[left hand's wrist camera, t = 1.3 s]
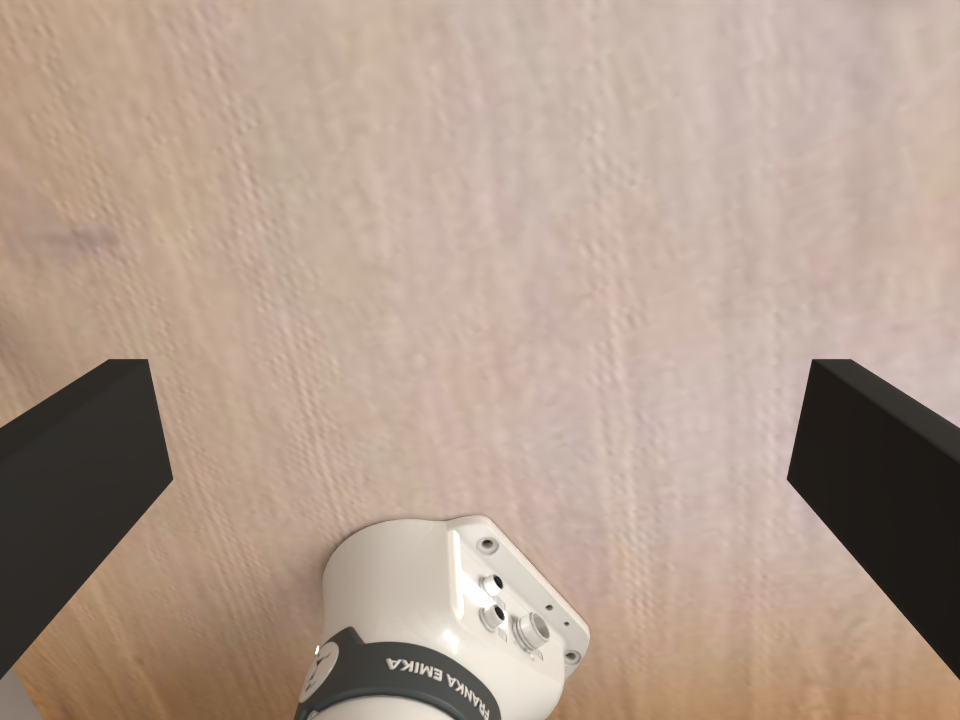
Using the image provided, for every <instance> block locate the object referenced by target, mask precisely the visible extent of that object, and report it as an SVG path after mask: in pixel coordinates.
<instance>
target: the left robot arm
mask: <svg viewBox="0 0 960 720" xmlns="http://www.w3.org/2000/svg"><path fill="white" fill-rule="evenodd" d="M172 480H173V476H172V471H171V466H170V462H169V457H168V452H167V448H166V443H165V438H164V433H163V429H162V424H161V419H160V415H159V410H158V405H157V401H156V396H155V391H154V386H153V382H152V377H151V372H150V368H149V363H148V359H109V360H107V361H105V362H104V363H102V364H101V365H99V366H98V367H96V368H94V369H93V370H91V371H90V372H88V373H86V374H85V375H83V376H82V377H80V378H79V379H77V380H75V381H74V382H72V383H71V384H69V385H68V386H66V387H64V388H63V389H61V390H60V391H58V392H57V393H55V394H53V395H52V396H50V397H49V398H47V399H45V400H44V401H42V402H41V403H39V404H38V405H36V406H34V407H33V408H31V409H30V410H28V411H27V412H25V413H23V414H22V415H20V416H19V417H17V418H16V419H14V420H12V421H11V422H9V423H8V424H6V425H4V426H3V427H1V428H0V680H1V678H2V677H3V676H4V675H5V674H6V673H7V671H8V670H9V669H10V668H11V667H12V666H13V665H14V663H15V662H16V661H17V660H18V659H19V658H20V656H21V655H22V654H23V653H24V652H25V651H26V649H27V648H28V647H29V646H30V645H31V644H32V643H33V641H34V640H35V639H36V638H37V637H38V636H39V634H40V633H41V632H42V631H43V630H44V629H45V627H46V626H47V625H48V624H49V623H50V622H51V621H52V619H53V618H54V617H55V616H56V615H57V614H58V612H59V611H60V610H61V609H62V608H63V607H64V605H65V604H66V603H67V602H68V601H69V600H70V599H71V597H72V596H73V595H74V594H75V593H76V592H77V590H78V589H79V588H80V587H81V586H82V585H83V583H84V582H85V581H86V580H87V579H88V578H89V577H90V575H91V574H92V573H93V572H94V571H95V570H96V568H97V567H98V566H99V565H100V564H101V563H102V561H103V560H104V559H105V558H106V557H107V556H108V554H109V553H110V552H111V551H112V550H113V549H114V548H115V546H116V545H117V544H118V543H119V542H120V541H121V539H122V538H123V537H124V536H125V535H126V534H127V532H128V531H129V530H130V529H131V528H132V527H133V526H134V524H135V523H136V522H137V521H138V520H139V519H140V517H141V516H142V515H143V514H144V513H145V512H146V510H147V509H148V508H149V507H150V506H151V505H152V504H153V502H154V501H155V500H156V499H157V498H158V497H159V495H160V494H161V493H162V492H163V491H164V490H165V488H166V487H167V486H168V485H169V484H170V483H171V481H172ZM787 480H788V481H789V483H790V484H791V485H792V486H793V487H794V488H795V490H796V491H797V492H798V493H799V494H800V495H801V497H802V498H803V499H804V500H805V501H806V502H807V504H808V505H809V506H810V507H811V508H812V509H813V510H814V512H815V513H816V514H817V515H818V516H819V517H820V519H821V520H822V521H823V522H824V523H825V524H826V526H827V527H828V528H829V529H830V530H831V531H832V532H833V534H834V535H835V536H836V537H837V538H838V539H839V541H840V542H841V543H842V544H843V545H844V546H845V548H846V549H847V550H848V551H849V552H850V553H851V554H852V556H853V557H854V558H855V559H856V560H857V561H858V563H859V564H860V565H861V566H862V567H863V568H864V570H865V571H866V572H867V573H868V574H869V575H870V577H871V578H872V579H873V580H874V581H875V582H876V583H877V585H878V586H879V587H880V588H881V589H882V590H883V592H884V593H885V594H886V595H887V596H888V597H889V599H890V600H891V601H892V602H893V603H894V604H895V605H896V607H897V608H898V609H899V610H900V611H901V612H902V614H903V615H904V616H905V617H906V618H907V619H908V621H909V622H910V623H911V624H912V625H913V626H914V627H915V629H916V630H917V631H918V632H919V633H920V634H921V636H922V637H923V638H924V639H925V640H926V641H927V643H928V644H929V645H930V646H931V647H932V648H933V649H934V651H935V652H936V653H937V654H938V655H939V656H940V658H941V659H942V660H943V661H944V662H945V663H946V665H947V666H948V667H949V668H950V669H951V670H952V672H953V673H954V674H955V675H956V676H957V677H958V678H959V680H960V428H959V427H957V426H956V425H954V424H952V423H951V422H949V421H948V420H946V419H944V418H943V417H941V416H940V415H938V414H937V413H935V412H933V411H932V410H930V409H929V408H927V407H926V406H924V405H922V404H921V403H919V402H918V401H916V400H915V399H913V398H911V397H910V396H908V395H907V394H905V393H903V392H902V391H900V390H899V389H897V388H896V387H894V386H892V385H891V384H889V383H888V382H886V381H885V380H883V379H881V378H880V377H878V376H877V375H875V374H874V373H872V372H870V371H869V370H867V369H866V368H864V367H862V366H861V365H859V364H858V363H856V362H855V361H853V360H851V359H812V363H811V368H810V372H809V377H808V382H807V386H806V391H805V396H804V401H803V405H802V410H801V415H800V419H799V424H798V429H797V433H796V438H795V443H794V448H793V452H792V457H791V462H790V466H789V471H788V476H787Z"/></svg>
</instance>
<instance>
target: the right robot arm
mask: <svg viewBox="0 0 960 720" xmlns="http://www.w3.org/2000/svg"><path fill="white" fill-rule="evenodd" d="M484 540H490V541H491V542H490V543H484V542H483V541H484ZM322 597H323V618H322V628H321V636H320V642H319V646H318V647H317V651H316V656H315V658H314V660H313V662H312V664H311V666H310V668H309V670H308V673H307V675H306V678H305V681H304V684H303V686H302V690H301V693H300V697H299V704H298V707H297V710H296V714H295V718H294V720H545V719H546V718H547V717H548V716H549V715H550V713H551V712H552V711H553V709H554V708H555V706H556V705H557V703H558V701H559V699H560V697H561V694H562V691H563V687H564V681H565V680H566V679H567V678H568V677H569V676H570V675H571V673H572V672H573V671H574V670H575V669H576V667H577V666H578V665H579V663H580V662H581V660H582V658H583V657H584V655H585V653H586V650H587V647H588V644H589V640H590V632H589V627H588V626H587V624H586V623H585V622H584V621H583V619H582V618H581V617H580V616H579V615H578V614H577V613H576V612H575V611H574V610H573V609H572V607H571V606H570V605H569V604H568V603H567V602H566V601H565V600H564V599H563V598H562V597H561V596H560V594H559V593H558V592H557V591H556V590H555V589H554V588H553V587H552V586H551V585H550V584H549V583H548V581H547V580H546V579H545V578H544V577H543V576H542V575H541V574H540V573H539V572H538V571H537V570H536V568H535V567H534V566H533V565H532V564H531V563H530V562H529V561H528V560H527V559H526V558H525V557H524V555H523V554H522V553H521V552H520V551H519V550H518V549H517V548H516V547H515V546H514V545H513V544H512V542H511V541H510V540H509V539H508V538H507V537H506V536H505V535H504V534H503V533H502V532H501V531H500V529H499V528H498V527H497V526H496V525H495V524H494V523H493V522H492V521H491V520H490V519H489V518H487V517H485V516H482V515H470V516H465V517H460V518H456V519H452V520H448V521H431V520H422V519H397V520H389V521H385V522H380V523H377V524H374V525H371V526H368V527H366V528H364V529H362V530H360V531H358V532H356V533H355V534H353V535H352V536H350V537H349V538H347V539H346V540H345V541H344V542H343V543H342V544H341V545H340V546H339V547H338V548H337V549H336V550H335V551H334V553H333V554H332V555H331V557H330V559H329V561H328V563H327V565H326V567H325V570H324V573H323V578H322ZM568 653H570V654H568Z"/></svg>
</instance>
